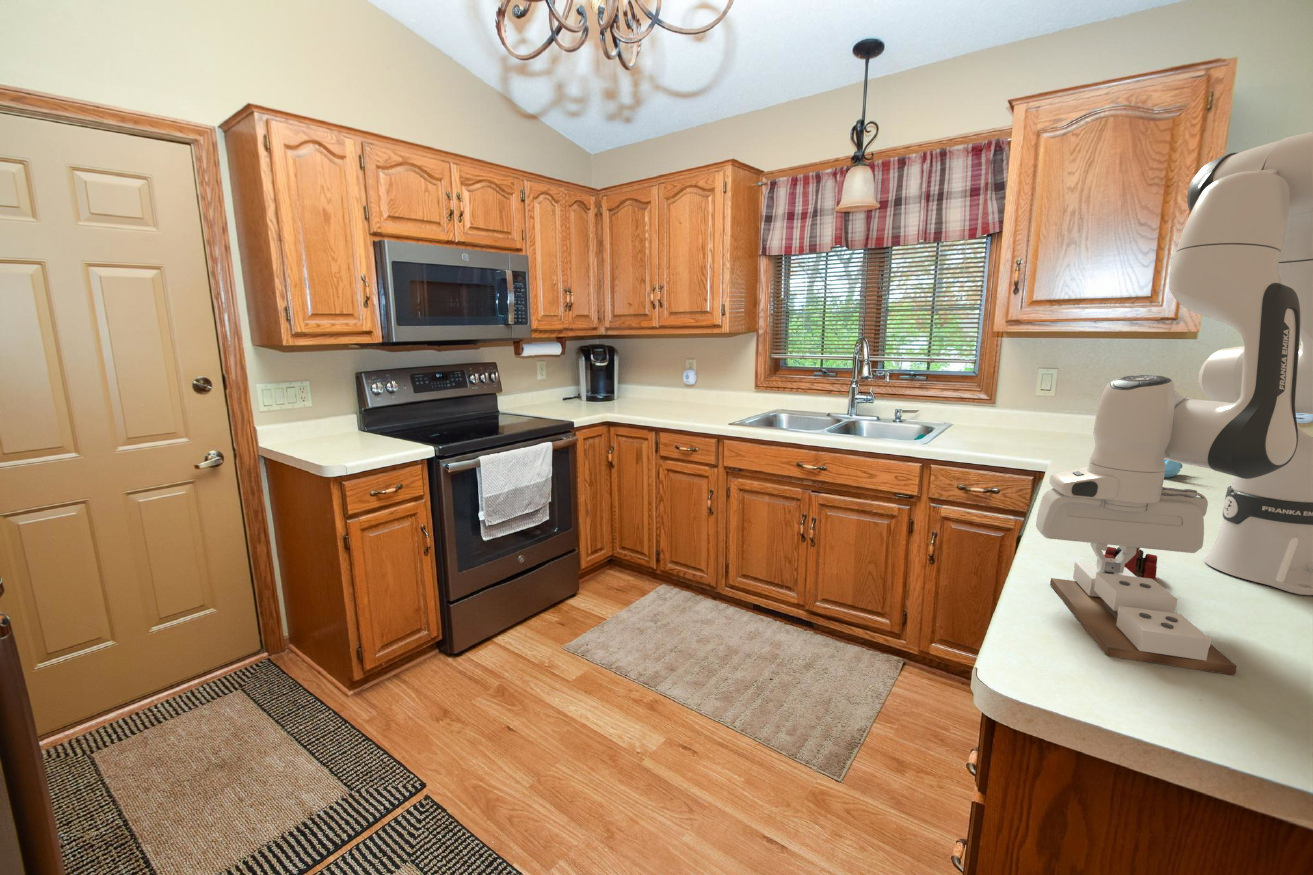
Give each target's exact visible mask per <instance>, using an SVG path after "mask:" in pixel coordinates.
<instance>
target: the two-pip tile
mask: <svg viewBox="0 0 1313 875" xmlns="http://www.w3.org/2000/svg"><path fill="white" fill-rule="evenodd" d="M1095 579H1096V581H1095V588H1094V591H1095V592H1096V593H1097V594H1098V595H1099V596H1100V597H1101V598H1102V599H1103V600H1104V601H1105V602H1106V603H1107V604H1108V605H1109V606H1110V607H1111V608H1112V609H1113V611H1118V607H1119V606H1123V607H1131V608H1139V609H1147V610H1154V611H1162V612H1170V613H1176V607H1177V605H1178V598H1177V597H1176V596H1174V595H1173V594H1172V593H1170V592H1169V590H1167V589H1165V588H1164V587H1163V586H1162V585H1161V584H1160V583H1158V582H1157V581H1156V580H1155V581H1154V580H1153V579H1150V578H1142V577H1139V576H1136V577H1132V576H1124V575H1115V574H1106V573H1097V572H1096V578H1095Z"/></svg>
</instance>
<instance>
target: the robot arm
mask: <svg viewBox="0 0 1313 875" xmlns="http://www.w3.org/2000/svg"><path fill="white" fill-rule="evenodd" d="M1186 199H1187V200H1186V201H1187V202H1186V203H1187V208H1188V210H1189V212H1190V214H1189V216H1188V218H1187V219H1186V223H1185V225H1184V227H1183V229H1182V230H1183V231H1182V232H1181V235H1180V238H1179V242H1178V244H1177V247H1176V249H1175V250H1176V251H1175V254H1174V257H1173V260H1172V264H1171V268H1170V272H1169V278H1168V280H1169V282H1168V284H1169V285H1168V286H1169V290H1170V293H1171V294H1172V296H1173V298H1174V299H1175V301H1176V302H1177V303H1179V304H1180V305H1181V306H1182V307H1184V308H1185V309H1186V310H1188V311H1190V312H1193V313H1194V314H1197V315H1200V316H1202V317H1205V318H1209V319H1213V320H1216V321H1218V322H1220V323H1224V324H1226V325H1228V326H1230V327H1232V328H1233V329H1235V330H1236V331H1237V332H1238V333H1239V334H1240V336H1241V338H1242V340H1243V344H1244V345H1242V346H1241V345H1240V346H1239V345H1238V346H1233V347H1227V348H1222V349H1218V350H1216V351H1215V352H1213V353H1211V355H1210V356H1208V358H1206V360H1204V362H1203V363H1202V365H1201V367H1200V370H1199V373H1198V385H1199V387H1200V388H1199V389H1200V390H1201V392H1202V394H1204V397H1206V398H1207V399H1208V400H1205V399H1203V400H1202V399H1197V398H1190V397H1188V396H1186V395H1184V394H1182V393H1179V392H1177V390H1176V389H1175V383H1174V380H1173V379H1172V378H1170V377H1165V376H1161V375H1152V374H1139V375H1127V376H1120V377H1117V378H1115V379H1113V380H1110V381H1109V382H1108V383H1107V384H1106V386H1104V389H1103V391H1102V394H1101V396H1100V399H1099V403H1098V407H1097V410H1096V415H1095V420H1094V425H1093V426H1094V427H1093V432H1092V433H1093V440H1094V447H1093V451H1092V453H1091V455H1090V457H1089V460H1088V466H1084V467H1081V468H1080V467H1079V468H1075V469H1069V470H1064V471H1060V472H1055V473H1052V474H1051V475H1050V477H1049V484H1050V485H1051V488H1050V489H1048V490H1047V491H1045V493H1044V494H1043V495H1042V498H1041V500H1040V504H1039V508H1038V511H1037V514H1036V520H1035V527H1036V529H1037V531H1038V532H1039V534H1041V535H1042V536H1043V537H1044V538H1045V539H1049V540H1060V541H1069V542H1079V543H1086V544H1088V543H1089V544H1090V545H1089V546H1090V547H1091V549H1092V551H1093V552H1094V555H1095V556H1096V557H1097V558H1096V563H1095V564H1096V567H1097V569H1098V570H1099V571H1105V572H1113V573H1121V574H1122V573H1123V572H1124V566H1125V563H1127V562H1128V561H1129V560H1130V559H1131V558H1132V557H1133V556H1134V555H1135V554H1136V550H1137V548H1139V549H1147V550H1156V551H1157V550H1158V551H1169V552H1177V553H1178V552H1179V553H1187V554H1195V553H1197V552H1198V551H1200V550H1202V548H1203V547H1204V539H1205V538H1204V537H1205V536H1204V535H1205V519H1204V517H1205V516H1206V514H1207V512H1208V505H1209V501H1208V499H1207V497H1206V496H1205V495H1204V494H1202V493H1200V492H1198V491H1197V490H1195V489H1191V488H1184V489H1183V488H1181V489H1180V488H1175V487H1165V486H1163V485H1164V479H1165V477H1164V475H1165V469H1166V466H1165V461H1164V459H1166V460H1171V461H1174V462H1178V463H1181V464H1182V465H1187V466H1188V465H1189V466H1194V467H1199V468H1204V469H1210V470H1213V471H1215V472H1219V473H1222V474H1227V475H1229V476H1232V479H1231V480H1232V481H1231V485H1229V486H1228V487H1227V488H1226V489H1227V490H1226V494H1225V497H1224V501H1223V508H1222V518H1223V519H1222V522H1221V524H1220V527H1219V530H1218V533H1217V534H1216V537H1215V540H1214V542H1213V544H1212V545H1211V548H1210V549H1209V550H1208V552H1207V554H1206V555H1205V556H1204V558H1203V560H1204V562H1205V563H1206V564H1207V565H1209V566H1210V567H1212V568H1214V569H1216V570H1218V571H1221V572H1222V573H1225V574H1228V575H1231V576H1233V577H1237V578H1241V579H1244V580H1248V581H1251V582H1254V583H1259V584H1263V585H1267V586H1271V587H1273V588H1276V589H1279V590H1282V591H1285V592H1289V593H1291V594H1296V595H1302V596H1304V595H1305V596H1313V436H1312V435H1309V434H1307V432H1305V431H1304V430H1303V428H1301V427H1300V424H1299V423H1298V420H1297V414H1308V415H1313V131H1310V132H1306V133H1301V134H1296V135H1291V136H1287V137H1285V138H1283V139H1280V140H1277V141H1272V142H1269V143H1266V144H1262V145H1259V146H1256V147H1253V148H1249V149H1246V150H1243V151H1241V152H1230V153H1228V154H1226V155H1222V156H1220V157H1217V158H1215V159H1213V160H1211V161H1210V162H1208V163H1206V164H1205V165H1203V167H1201V169H1200V170H1198V172H1197V173H1196V174H1195V175H1194V177H1193V178H1192V180H1191V182H1190V184H1189V185H1188V190H1187V195H1186ZM1300 344H1301V345H1300ZM1197 496H1198V497H1197ZM1108 545H1109V546H1118V547H1119V548H1120V549H1121V550H1122V551H1121V552H1120V553H1119V554H1118V555H1117V556H1116V557H1115V559H1113V558H1105V556H1104V555H1105V553H1104V552H1105V551H1106V550H1107V547H1108ZM1103 551H1104V552H1103Z"/></svg>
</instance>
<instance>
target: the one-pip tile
mask: <svg viewBox="0 0 1313 875" xmlns="http://www.w3.org/2000/svg"><path fill="white" fill-rule="evenodd" d="M1073 567H1074V570H1073V575H1072V576H1073V577H1072V578H1073V579H1072V580H1073V581H1076V582H1077V583H1078V584H1079V585H1080V586H1081V587H1082V588H1083V590H1084V591H1085V592H1086V593H1087V594H1088V595H1089V596H1094V597H1100V596H1099V595H1098V594H1097V593H1096V592H1095V591H1094V588H1095V581H1096V579H1095V578H1096V572H1097V573H1106V574H1115V575H1124V576H1132V577H1137V576H1135V575H1134V574H1133V573H1132V572H1130V571H1129V570H1128V569H1127V568H1126V567H1124V572H1123V573H1122V574H1121V573H1113V572H1105V571H1099V570H1098V569H1097V567H1096V563H1088V562H1080V561H1074V566H1073Z"/></svg>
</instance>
